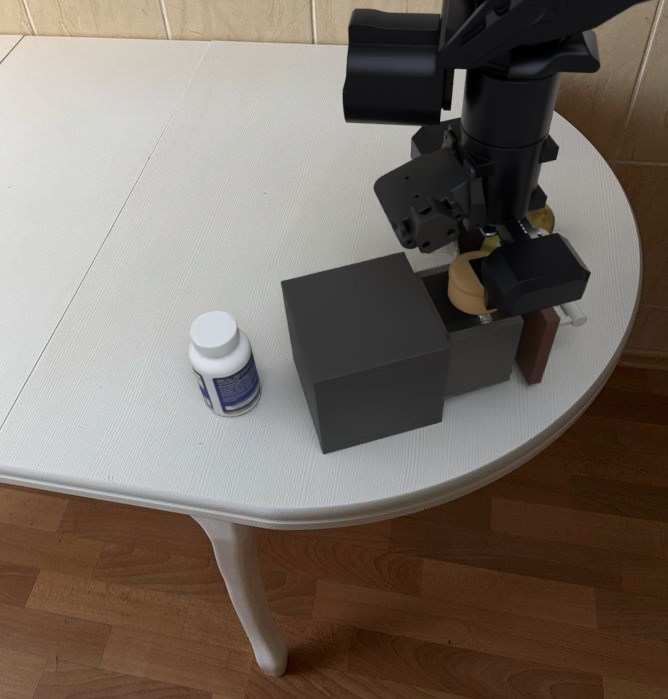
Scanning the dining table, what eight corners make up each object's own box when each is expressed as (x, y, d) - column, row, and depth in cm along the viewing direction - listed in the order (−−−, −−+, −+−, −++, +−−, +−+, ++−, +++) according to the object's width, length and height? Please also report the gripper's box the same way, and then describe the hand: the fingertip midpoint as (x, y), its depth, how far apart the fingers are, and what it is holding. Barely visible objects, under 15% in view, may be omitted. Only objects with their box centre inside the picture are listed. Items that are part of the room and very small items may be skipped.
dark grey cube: (401, 330, 69) (404, 250, 61) (441, 422, 63) (451, 347, 54) (293, 358, 68) (280, 280, 59) (323, 454, 61) (313, 383, 53)
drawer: (536, 294, 70) (554, 227, 63) (584, 370, 64) (610, 306, 57) (403, 329, 68) (405, 263, 61) (439, 410, 62) (447, 349, 55)
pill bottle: (270, 378, 67) (256, 311, 59) (248, 425, 64) (229, 361, 56) (219, 365, 68) (198, 298, 60) (194, 410, 65) (169, 345, 57)
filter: (517, 285, 59) (522, 265, 57) (490, 325, 57) (494, 304, 55) (464, 263, 61) (466, 242, 59) (435, 300, 59) (437, 280, 57)
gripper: (345, 71, 50) (352, 232, 63) (440, 246, 39) (426, 400, 52) (491, 41, 52) (469, 205, 64) (622, 202, 41) (565, 362, 53)
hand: (478, 284), depth 58 cm, fingers closed on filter, 5 cm apart
